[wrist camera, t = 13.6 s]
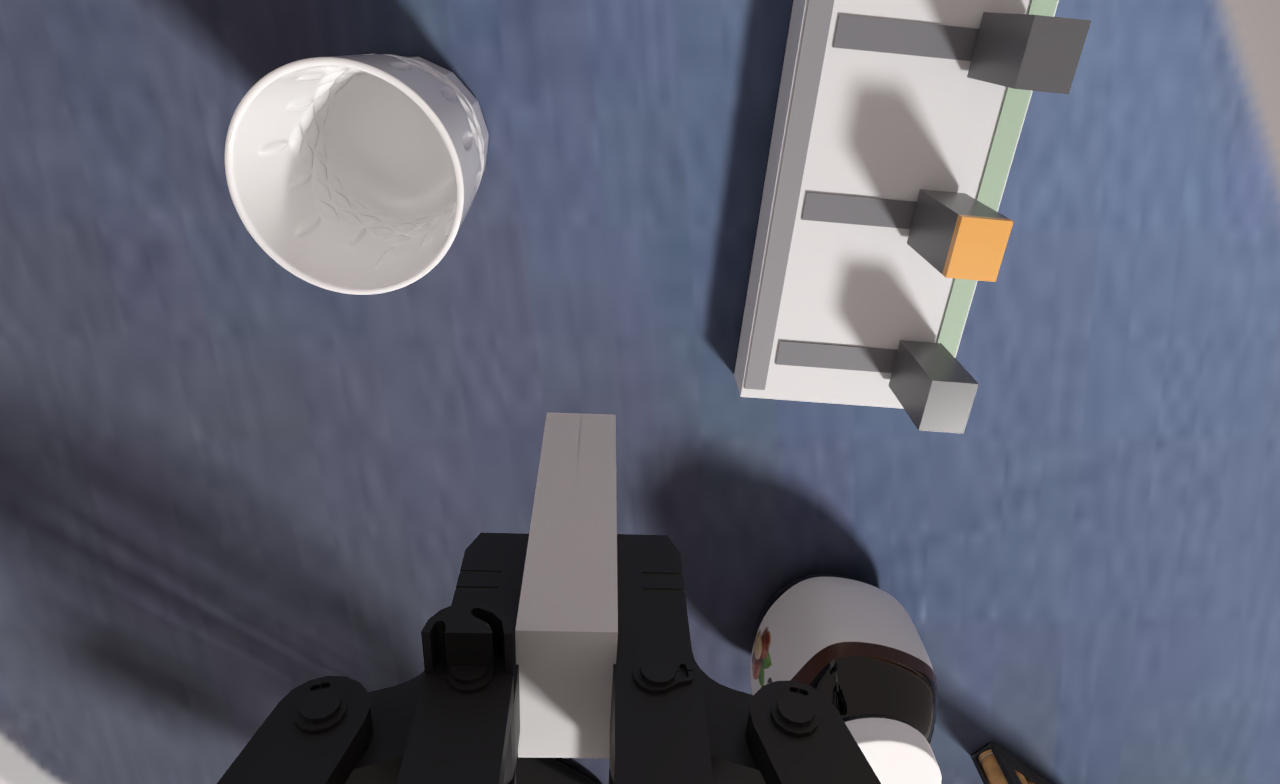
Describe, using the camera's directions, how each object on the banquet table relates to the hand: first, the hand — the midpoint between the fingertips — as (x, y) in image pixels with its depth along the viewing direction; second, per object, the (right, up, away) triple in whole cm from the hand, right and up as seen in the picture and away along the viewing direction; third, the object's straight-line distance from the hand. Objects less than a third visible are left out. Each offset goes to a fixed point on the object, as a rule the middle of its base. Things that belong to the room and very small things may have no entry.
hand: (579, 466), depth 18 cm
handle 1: (+14, +3, +20) cm, 25 cm away
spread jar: (+14, -14, +32) cm, 37 cm away
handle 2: (+16, +15, +14) cm, 26 cm away
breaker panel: (+12, +11, +20) cm, 25 cm away
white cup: (-9, +13, +18) cm, 24 cm away
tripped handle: (+14, +9, +17) cm, 24 cm away
